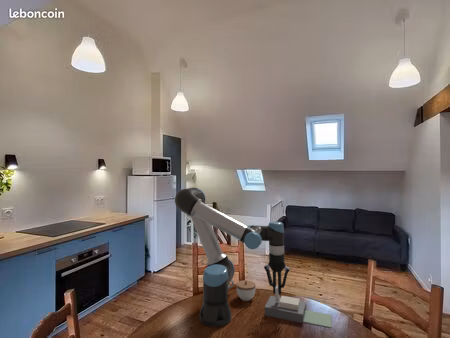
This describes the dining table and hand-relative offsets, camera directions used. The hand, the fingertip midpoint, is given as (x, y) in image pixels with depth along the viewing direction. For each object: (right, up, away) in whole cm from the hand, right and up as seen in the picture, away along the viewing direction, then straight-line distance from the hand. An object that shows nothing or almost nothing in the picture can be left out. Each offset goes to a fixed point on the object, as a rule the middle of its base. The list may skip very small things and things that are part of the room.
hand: (277, 300), depth 131 cm
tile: (+6, -1, -2) cm, 6 cm away
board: (+4, -5, -2) cm, 7 cm away
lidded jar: (-15, -6, +14) cm, 21 cm away
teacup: (-27, -6, +22) cm, 36 cm away
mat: (+18, -5, -8) cm, 20 cm away
